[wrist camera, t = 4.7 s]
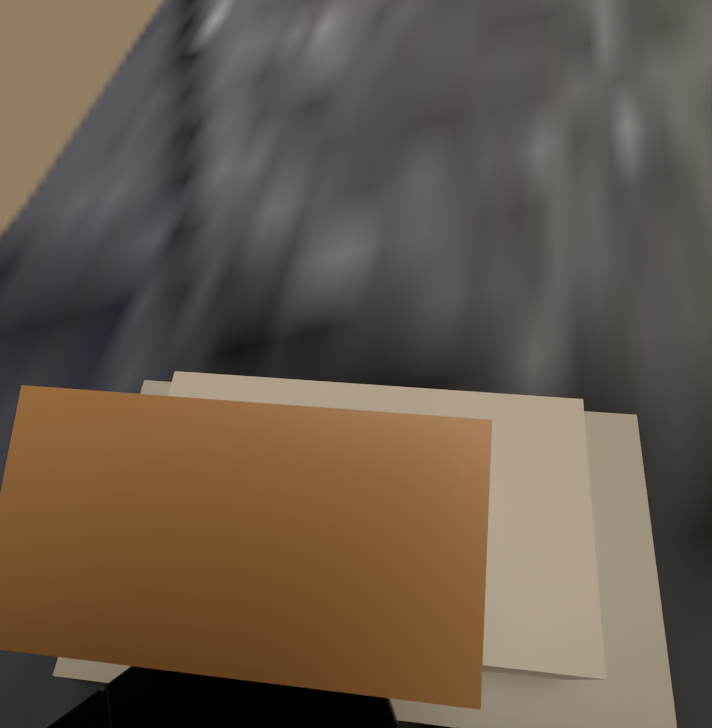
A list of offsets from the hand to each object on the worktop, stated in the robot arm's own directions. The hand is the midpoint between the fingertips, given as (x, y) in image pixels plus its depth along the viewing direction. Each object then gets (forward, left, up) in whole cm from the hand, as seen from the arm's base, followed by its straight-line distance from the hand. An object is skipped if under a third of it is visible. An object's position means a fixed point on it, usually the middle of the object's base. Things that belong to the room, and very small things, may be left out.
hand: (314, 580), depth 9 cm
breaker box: (+1, +3, -12) cm, 12 cm away
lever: (+1, +3, -6) cm, 7 cm away
